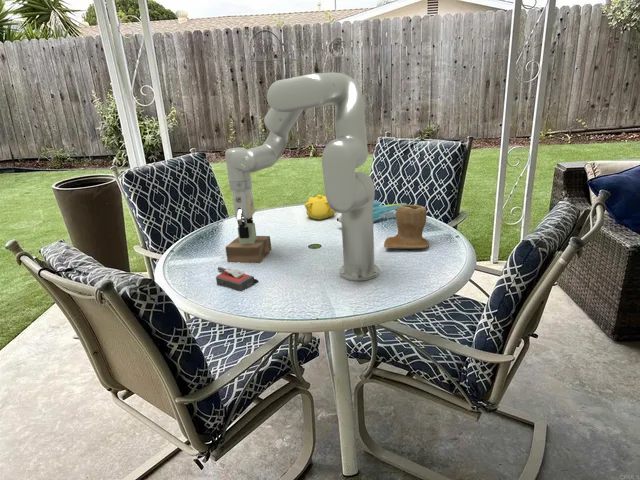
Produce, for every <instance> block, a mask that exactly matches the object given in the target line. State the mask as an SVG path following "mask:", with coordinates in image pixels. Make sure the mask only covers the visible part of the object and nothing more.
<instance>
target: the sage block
mask: <svg viewBox="0 0 640 480" xmlns="http://www.w3.org/2000/svg"><path fill="white" fill-rule="evenodd" d="M247 227H248V230H249V238H240V235H239V228H238V227H237V234H238V236H239V242H240V244H254V243H255V241H256V239H257V237H256V236H257V229H256V224H255V222H253V223H247Z"/></svg>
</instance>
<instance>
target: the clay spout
mask: <svg viewBox="0 0 640 480" xmlns="http://www.w3.org/2000/svg"><path fill="white" fill-rule="evenodd" d="M427 213H428V211H427V209H426V207H424V206H423V205H419V204H417V205H416V204H407V205H399V206H398V208H397V209H396V211H395V220H396V225H397V234H396V235H395V236H388V237H387V238H386V239H384V243H383V248H385V249H388V248H389V249H403V250H404V249H408V250H409V249H426V248H428V247H429V245H430V244H429V241H428V240H427V239H426V238H423V231H424V229H425V225H426V222H427Z"/></svg>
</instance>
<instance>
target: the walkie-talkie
mask: <svg viewBox="0 0 640 480" xmlns="http://www.w3.org/2000/svg"><path fill="white" fill-rule="evenodd" d="M217 270H218V271H221V273H219V274H217V275H216V276H215V280H216V285H217V286H221V287H224V288H228V289H232V290H234V291H237V292H244V291H245V289H246V290H247V289H249V288H251V287H252V286H254V284H255V285H256V284H258V283H259V280H258V279H257V278H255V277H254V276H252V275H249V274H246V272H245V271H243V270H240V269H237V268H236V269H232V268H224V267H220V266H218V267H217ZM243 290H244V291H243Z"/></svg>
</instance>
